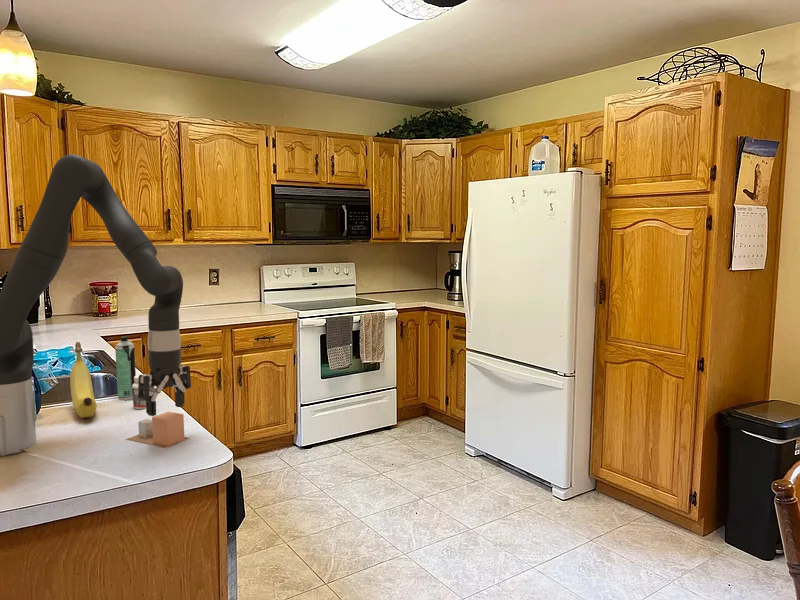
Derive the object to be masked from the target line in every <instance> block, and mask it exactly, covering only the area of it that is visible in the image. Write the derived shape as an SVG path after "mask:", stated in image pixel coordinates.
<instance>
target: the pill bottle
mask: <svg viewBox="0 0 800 600" xmlns="http://www.w3.org/2000/svg"><path fill="white" fill-rule="evenodd" d="M139 375H140V374H137V375H136V376H134V381H135V383H134V384H133V385H132V391H133V399H132V404H133V405H132V406H133V409H135V410H146V401H145V400H141V399H138V380H139ZM151 396H152V395H151Z"/></svg>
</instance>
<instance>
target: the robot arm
mask: <svg viewBox="0 0 800 600" xmlns="http://www.w3.org/2000/svg"><path fill="white" fill-rule="evenodd" d="M45 187H46V188H45V189H44V190H45V191H44V193H43V197H42V200H41V203H40V204H39V206H38V208H37V211H36V212H35V215H34V218H33V219H32V222H31V223H30V227H29V228H28V230H27V232H26V235H25V237H24V238H23V240H22V242H21V244H20V246H19V248H18V250H17V253H16V254H15V257H14V260H13V262H12V264H11V267H10V269H9V271H8V273H7V276H6V278H5V280H4V283H3V285H2V287H1V290H0V456H2V457H5V456H7V455H12V454H18V453H22V452H25V449H28V448H31V447H33V446H35V445H37V434H36V433H37V432H36V430H37V429H36V419H35V418H36V417H35V404H34V403H35V402H34V392H33V377H32V372H33V368H34V367H33V366H34V360H35V359H34V355H35V354H34V336H33V334H34V333H33V329H32V326H31V324H30V322H29V321H28V320H27V319H28V315H29V313H30V311H31V310H32V308H33V306H34V304H35V303H36V301H37V300H38V299H39V298H40V296H41V295H42V294H43V293H44V292H45V291H46V290H47V288H48V287H49V285H50V284H51V283H52V281H53V280H54V279H55V277H56V275H57V274H58V272H59V270H60V267H61V266H62V264H63V261H64V260H65V257H66V255H67V252H68V248H69V243H70V242H69V240H70V224H71V218H72V216H73V213H74V211H75V209H76V207H77V205H78V202H79V201H80V199H81V198H82V199H83V200H84V201H86V203H87V204H88V205H90V206H91V208H93V209H94V210H95V212H96V213H97V215H98V216H99V217H100V219H101V221H102V222H103V224H104V226H105V228H106V230H107V233H108V234H109V237H110V239H111V241H112V242H113V243H114V245H115V247H117V248H116V249H118V250H119V252H121V254H122V255H123V256H124V258H125V259H126V260H127V261H128V263H129V264H130V266H131V268H132V271H133V273H134V274H135V277H136V279H137V281H138V283H139V284H140V285H141V287H142V288H143V289H144V291H146V292H147V293H148V294H149V295H151V296H153V297H154V303H153V305H151V307H149V309H148V316H147V317H148V320H147V321H148V322H147V323H148V334H147V354H148V356H147V357H148V361H147V362H148V367H149V369H150V372H149V373H148V374H138V375H139V380H138V399H141V400H145V401H146V409H145V410H146V411H145V412H146V414H147V415H148V416H150V417H154V416H157V401H156V400H157V397H158V395H159V394H160V393H161V392H162V391H163V390H164V389H167V388H173V389H174V391H175V392H174V404H175V407H176V408H183V407H184V404H185V393H186V391H187V389H191V387H192V384H191V383H192V382H191V381H192V380H191V378H192V377H191V366H189V365H185V364H182V348H181V347H182V346H181V345H182V341H181V333H180V307H181V303H182V297H183V292H184V291H183V290H184V280H183V276H182V274H181V272H180V270H178V269H177V268H176V267H175V266H171V265H164V266H163V265H161V263H160V262H159V260H158V258H157V254H158V251H157V250H158V249H157V248H156V246H155V245H154V243H153V242H152V241H151V239H150V238H149V237H148V236H147V234H146V233H145V232H144V230H143V229H141V227H140V225H138V223H137V222H136V220H135V219H134V218H133V217H132V216H131V214H130V212H128V210H127V209H126V207H125V206H124V204H123V203H122V201H121V200H120V198H119V197H118V195H117V193H116V192H115V191H116V190H114V188H113V186H112V184H111V182H110V180H109V178H108V176H107V175H106V173H105V172H104V170H103V169H102V167H101V166H100V165H99V164H97V163H96V162H95V161H92V160H91V159H88V158H86V157H83V156H81V155H77V154H67V155H64V156H62V157H61V158H59V159H58V160H57V162H55V165H54V166H53V167H52V169H51V172H50V176H49V178H48V181H47V184H46V186H45ZM151 395H152V396H151Z"/></svg>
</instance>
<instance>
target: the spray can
mask: <svg viewBox="0 0 800 600" xmlns="http://www.w3.org/2000/svg"><path fill="white" fill-rule="evenodd" d="M134 344H135V343H133V342H132V341H130V340H129V339H128V336H121V338H120V339H119V342H118V343H117V344H115V348H114V350H115V367H116V385H117V386H116V387H117V398H118V400H119V401H129V400H133V391H132V385H133V384H134V383H135V381H134V376H137V375H136V360H135V359H136V355H135V345H134Z"/></svg>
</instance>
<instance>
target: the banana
mask: <svg viewBox="0 0 800 600" xmlns="http://www.w3.org/2000/svg"><path fill="white" fill-rule="evenodd" d="M74 346H75V352H76V359H75V361H74V363H73V365H72V368H71V370H70V376H69V379H70V381H69V382H70V383H69V385H70V395H71V396H70V397H71V400H72V401H71V402H72V406H73V409H74V410H75V412H76V414H77V416H78V417H80V418H83V419H84V418H85V419H86V418H90V417H93V416H94V415H95V413H96V410H97V402H96V398H95V394H94V389H93V387H94V386H93V383H92V377H91V373H90V370H89V368H88V366H87V365H86V363H85V362H84V361H83V359H82V355H81V351H82V346H81V343H80V341H76V342H75V345H74Z"/></svg>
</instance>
